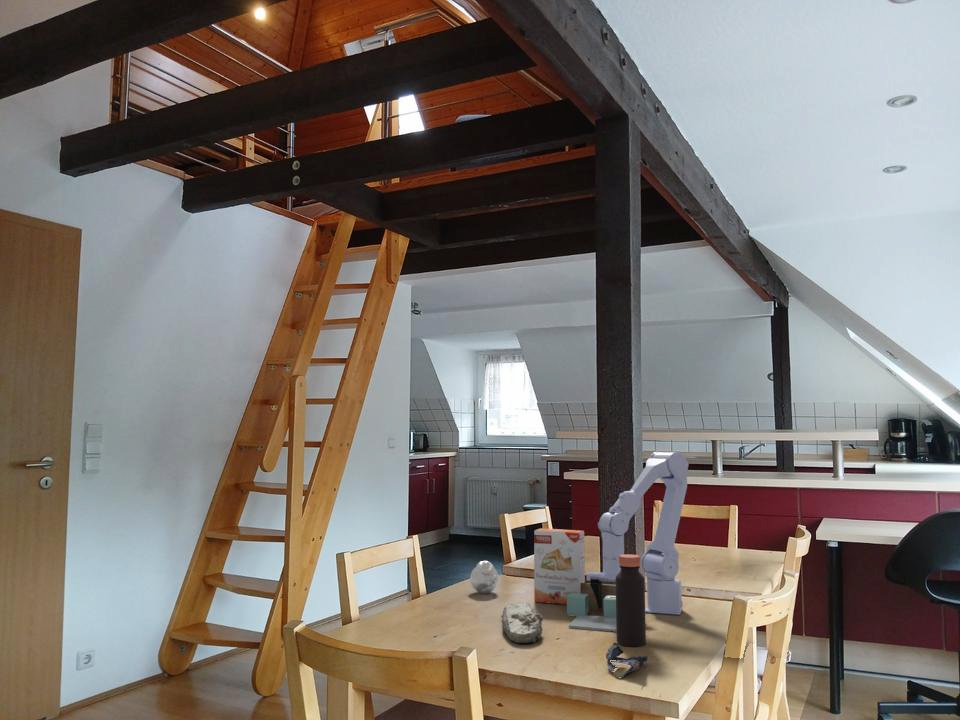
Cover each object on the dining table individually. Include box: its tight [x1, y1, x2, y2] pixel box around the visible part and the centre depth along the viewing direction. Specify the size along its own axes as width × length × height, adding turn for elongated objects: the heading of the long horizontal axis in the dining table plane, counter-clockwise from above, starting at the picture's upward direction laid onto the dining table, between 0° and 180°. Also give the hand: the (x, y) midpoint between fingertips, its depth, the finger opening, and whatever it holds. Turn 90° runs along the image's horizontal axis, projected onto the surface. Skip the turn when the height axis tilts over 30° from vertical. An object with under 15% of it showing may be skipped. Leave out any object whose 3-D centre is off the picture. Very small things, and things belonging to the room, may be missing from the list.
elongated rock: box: [501, 601, 544, 644], centre depth 189 cm, size 35×5×10 cm
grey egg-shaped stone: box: [469, 560, 500, 594], centre depth 231 cm, size 9×10×10 cm
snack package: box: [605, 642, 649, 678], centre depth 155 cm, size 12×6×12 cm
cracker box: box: [533, 528, 586, 606], centre depth 218 cm, size 14×6×21 cm, turn 68°
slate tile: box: [568, 615, 616, 633], centre depth 192 cm, size 12×12×1 cm
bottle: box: [615, 553, 647, 648], centre depth 175 cm, size 7×7×20 cm
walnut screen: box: [580, 582, 616, 612], centre depth 208 cm, size 13×4×7 cm, turn 70°
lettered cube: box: [603, 596, 616, 618], centre depth 200 cm, size 5×5×5 cm
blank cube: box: [566, 593, 590, 617], centre depth 204 cm, size 5×5×5 cm
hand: (614, 609), depth 200 cm, fingers open, 7 cm apart
